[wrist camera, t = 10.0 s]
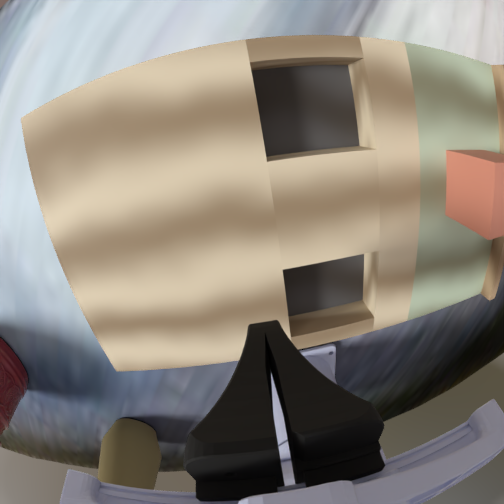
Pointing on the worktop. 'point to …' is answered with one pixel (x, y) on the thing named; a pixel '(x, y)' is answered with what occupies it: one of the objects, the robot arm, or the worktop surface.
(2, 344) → the canister
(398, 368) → the worktop surface
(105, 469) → the squeeze bottle
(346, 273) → the board
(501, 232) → the block
